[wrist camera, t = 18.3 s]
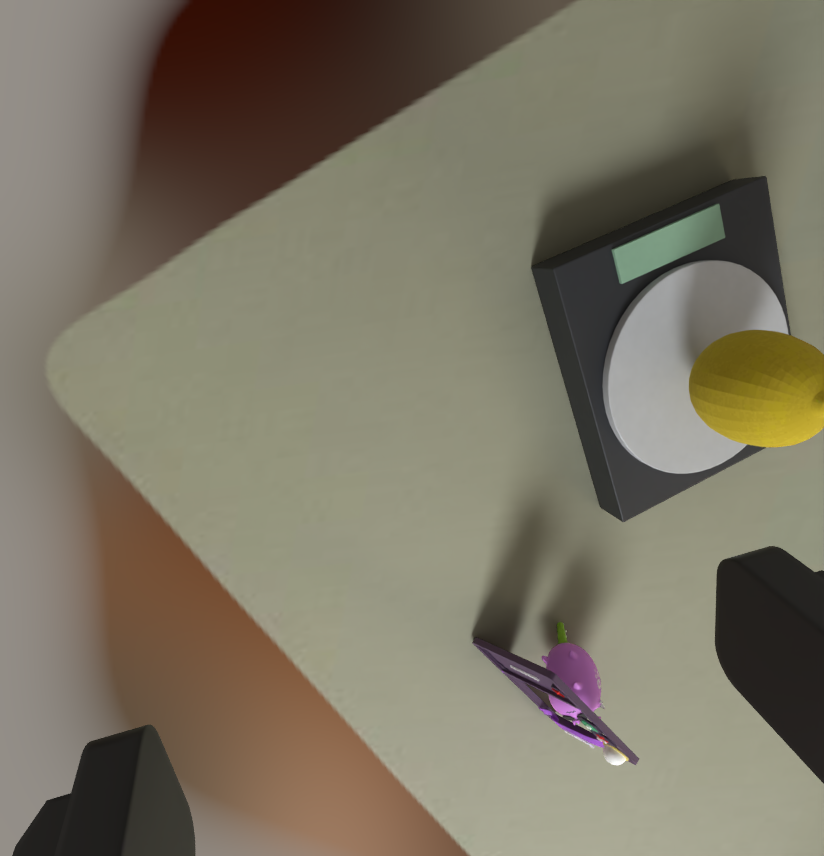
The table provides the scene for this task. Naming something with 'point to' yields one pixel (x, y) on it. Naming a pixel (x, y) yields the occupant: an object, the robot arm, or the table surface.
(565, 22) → the table surface
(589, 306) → the scale
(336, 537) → the table surface
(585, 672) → the purple toy
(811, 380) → the lemon
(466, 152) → the table surface
